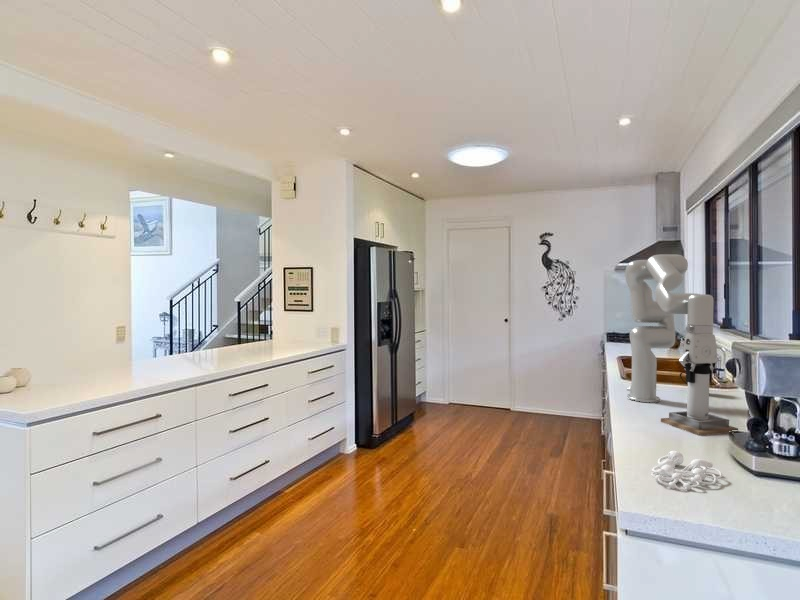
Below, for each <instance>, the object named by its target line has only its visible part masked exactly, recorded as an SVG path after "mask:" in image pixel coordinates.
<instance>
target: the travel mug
mask: <svg viewBox="0 0 800 600" xmlns="http://www.w3.org/2000/svg"><path fill="white" fill-rule="evenodd" d="M710 366H711V364H696V365H695V368H694V372H695V383H690V382H688V385H687V404H686V405H687V406H686V411H687V417H688V418H691V419H694V420H697V421H705V420H708V414H709V411H710V409H709V406H710V382H709V379H710V376H709V375H710V374H709V373H710V372H709V371H710ZM690 367H691V364H690Z"/></svg>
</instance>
